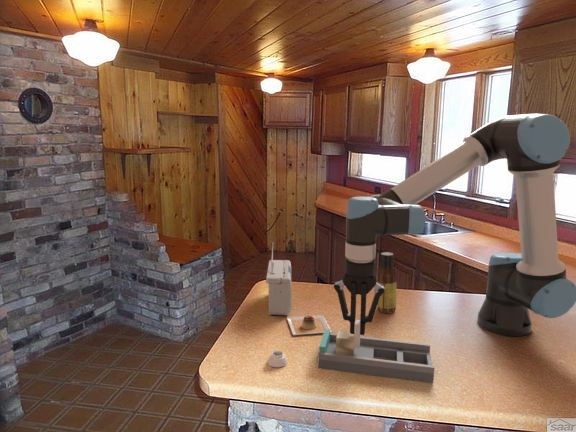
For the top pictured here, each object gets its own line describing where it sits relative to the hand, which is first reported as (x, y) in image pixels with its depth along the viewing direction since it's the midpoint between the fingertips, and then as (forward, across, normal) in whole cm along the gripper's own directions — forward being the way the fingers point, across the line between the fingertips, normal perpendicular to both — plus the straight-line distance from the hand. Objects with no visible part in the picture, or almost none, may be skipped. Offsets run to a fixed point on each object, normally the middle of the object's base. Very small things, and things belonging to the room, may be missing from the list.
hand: (356, 345), depth 113 cm
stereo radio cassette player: (+5, +29, -32) cm, 43 cm away
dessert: (+5, +16, -17) cm, 24 cm away
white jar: (+5, +20, +6) cm, 21 cm away
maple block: (+2, +3, 0) cm, 3 cm away
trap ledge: (+5, -5, 0) cm, 7 cm away
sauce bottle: (+5, -7, -35) cm, 36 cm away
